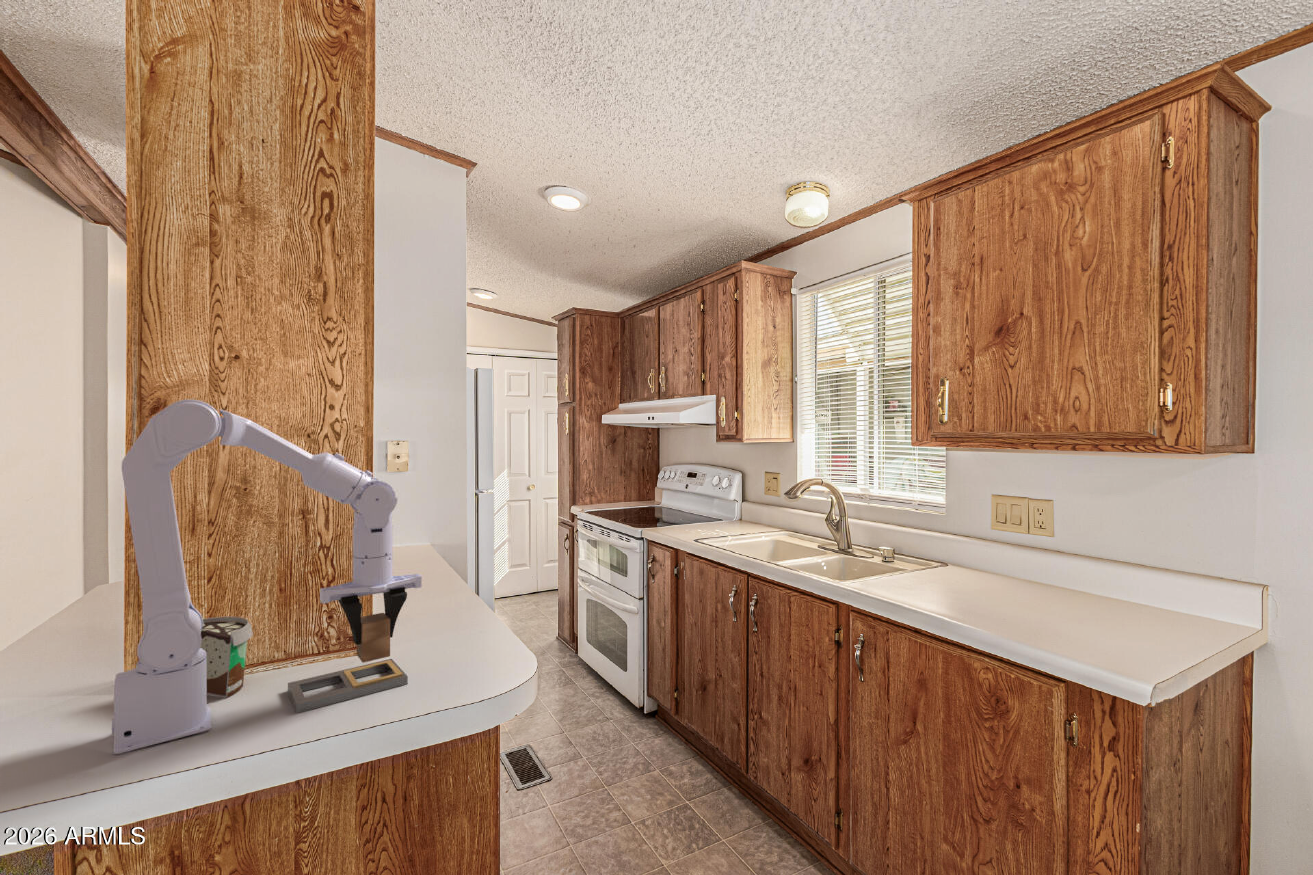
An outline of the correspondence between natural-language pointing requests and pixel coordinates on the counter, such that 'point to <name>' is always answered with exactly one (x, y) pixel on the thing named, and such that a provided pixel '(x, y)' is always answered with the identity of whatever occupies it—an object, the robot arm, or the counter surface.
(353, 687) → the grey slotted tray
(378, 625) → the brown wooden block
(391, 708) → the counter surface
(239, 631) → the food container
